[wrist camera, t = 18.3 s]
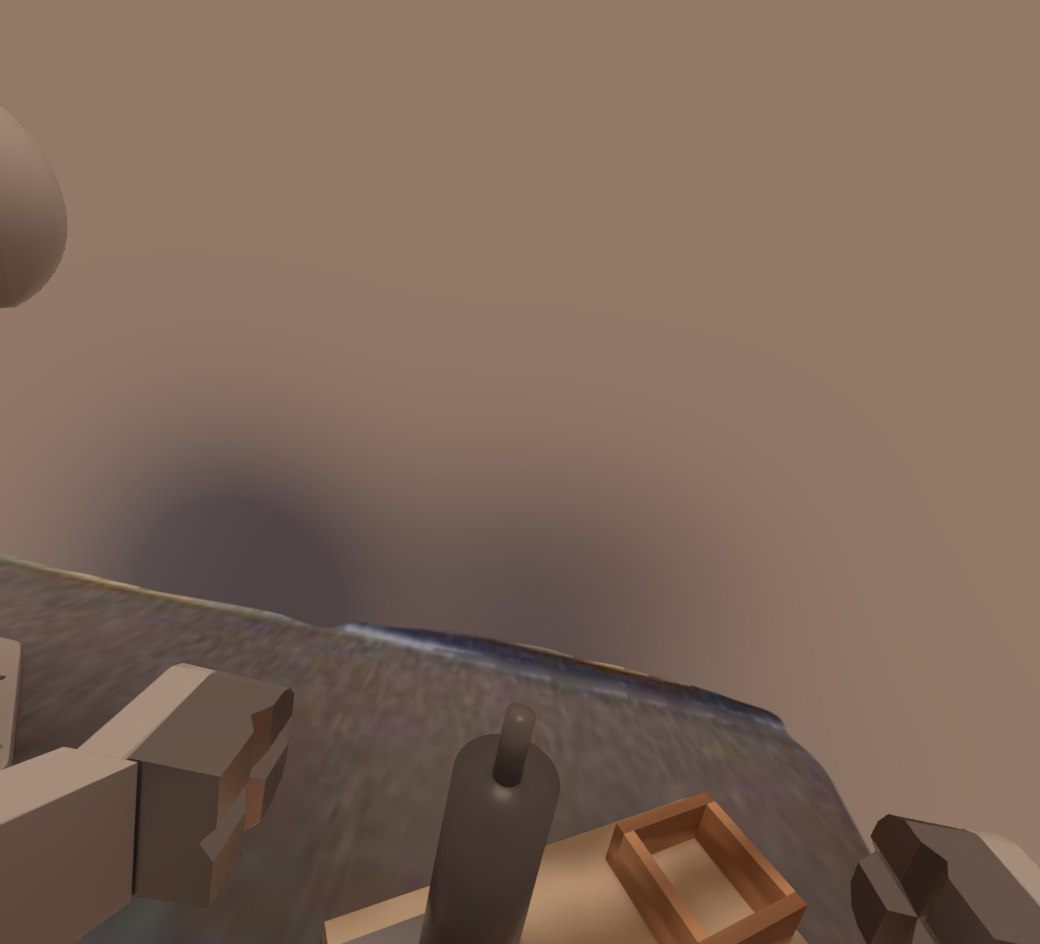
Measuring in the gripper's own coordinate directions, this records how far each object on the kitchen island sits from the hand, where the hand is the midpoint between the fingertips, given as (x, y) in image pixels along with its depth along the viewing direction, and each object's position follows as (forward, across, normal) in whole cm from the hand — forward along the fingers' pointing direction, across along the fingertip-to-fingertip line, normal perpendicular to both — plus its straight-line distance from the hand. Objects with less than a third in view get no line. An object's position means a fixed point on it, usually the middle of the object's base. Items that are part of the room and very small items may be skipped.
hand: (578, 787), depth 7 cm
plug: (+13, -1, +25) cm, 28 cm away
